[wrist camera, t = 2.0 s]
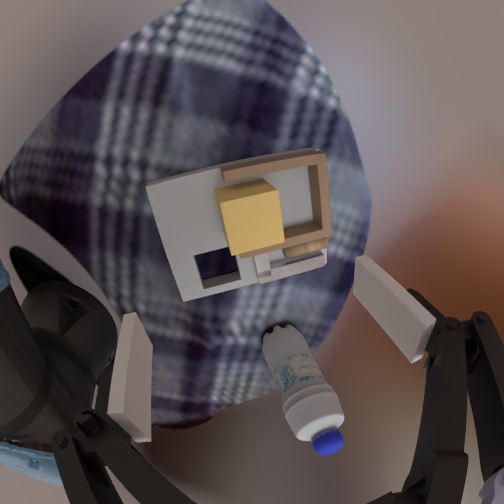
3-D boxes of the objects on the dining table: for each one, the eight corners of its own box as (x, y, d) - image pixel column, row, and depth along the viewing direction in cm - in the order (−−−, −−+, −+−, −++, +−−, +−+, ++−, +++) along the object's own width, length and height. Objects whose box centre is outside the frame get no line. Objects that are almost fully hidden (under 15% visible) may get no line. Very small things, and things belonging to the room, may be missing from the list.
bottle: (308, 324, 41) (371, 432, 24) (285, 354, 43) (333, 460, 26) (271, 314, 39) (329, 438, 21) (249, 347, 41) (290, 467, 23)
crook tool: (256, 277, 33) (259, 284, 31) (251, 249, 31) (254, 255, 30) (319, 259, 34) (324, 265, 32) (317, 232, 32) (323, 237, 31)
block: (224, 234, 30) (231, 255, 25) (214, 189, 27) (219, 203, 23) (269, 223, 30) (284, 242, 26) (262, 178, 28) (277, 189, 23)
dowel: (283, 255, 32) (287, 260, 31) (281, 242, 32) (285, 247, 30) (322, 244, 33) (328, 249, 31) (321, 232, 32) (327, 236, 31)
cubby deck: (183, 292, 34) (184, 314, 30) (147, 182, 27) (141, 193, 23) (320, 255, 36) (336, 272, 32) (311, 147, 29) (329, 152, 25)
